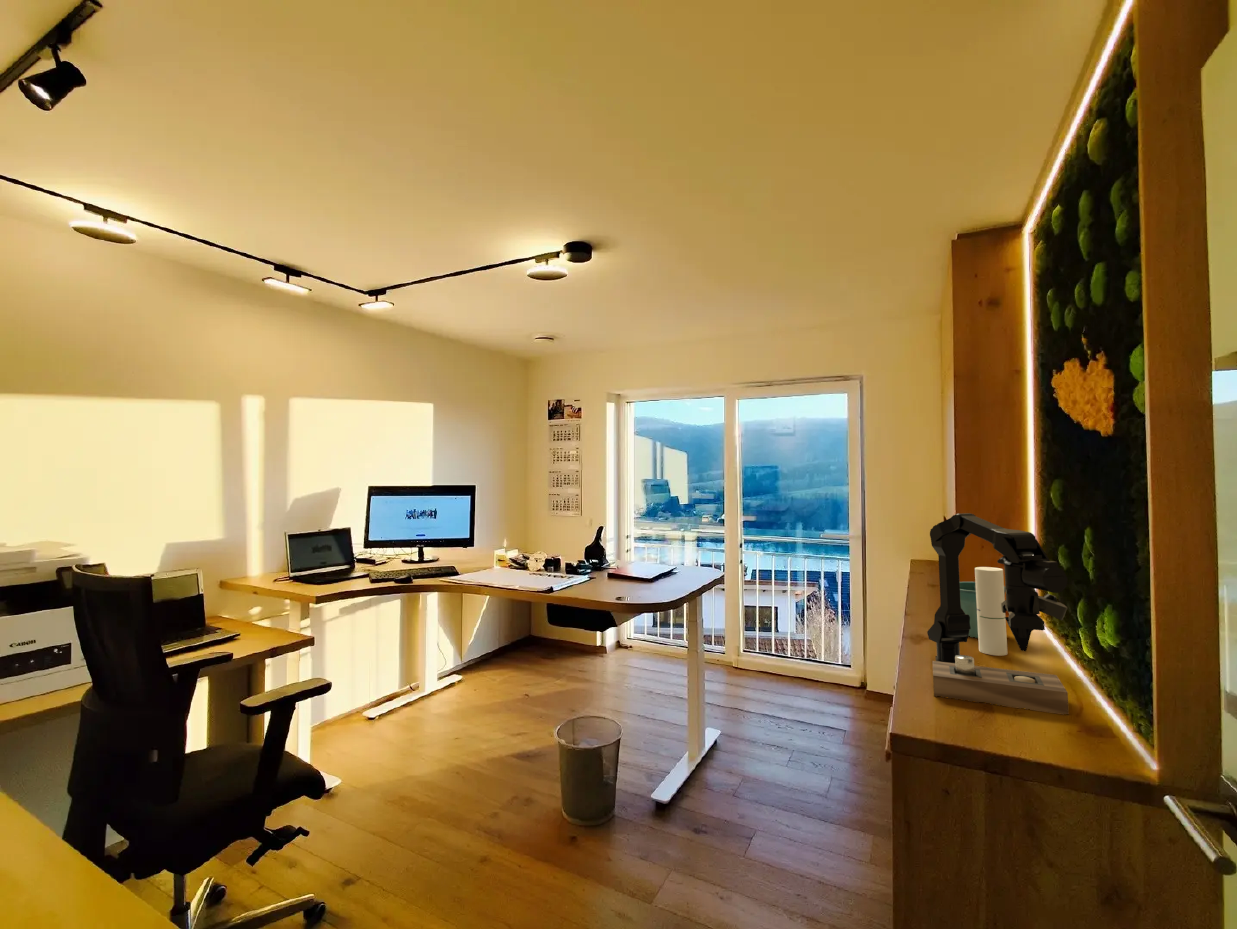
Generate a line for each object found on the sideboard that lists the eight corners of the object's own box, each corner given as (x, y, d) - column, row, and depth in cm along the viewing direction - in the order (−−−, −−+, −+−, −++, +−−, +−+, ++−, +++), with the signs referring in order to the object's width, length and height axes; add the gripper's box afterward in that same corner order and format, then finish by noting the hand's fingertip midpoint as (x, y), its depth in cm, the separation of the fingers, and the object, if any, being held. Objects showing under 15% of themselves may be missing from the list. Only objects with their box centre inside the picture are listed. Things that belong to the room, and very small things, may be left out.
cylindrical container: (998, 648, 169) (994, 566, 170) (1012, 655, 162) (1008, 570, 163) (974, 648, 170) (969, 567, 171) (987, 655, 163) (982, 570, 164)
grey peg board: (933, 679, 145) (932, 660, 145) (1057, 695, 132) (1056, 675, 132) (933, 696, 135) (932, 675, 135) (1068, 715, 122) (1067, 692, 122)
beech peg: (1014, 695, 133) (1013, 675, 133) (1034, 697, 131) (1033, 677, 131) (1016, 701, 130) (1015, 680, 130) (1037, 704, 128) (1036, 683, 128)
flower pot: (983, 643, 174) (980, 592, 175) (939, 630, 190) (937, 583, 190) (1021, 638, 179) (1019, 588, 179) (976, 625, 195) (974, 580, 195)
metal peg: (955, 673, 139) (954, 654, 139) (974, 675, 137) (973, 656, 137) (956, 678, 136) (955, 658, 136) (975, 680, 134) (974, 661, 134)
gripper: (1071, 594, 119) (1076, 667, 119) (1054, 580, 136) (1057, 644, 135) (1009, 591, 125) (1013, 660, 124) (999, 577, 141) (1003, 639, 140)
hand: (1023, 650), depth 131 cm, fingers closed
